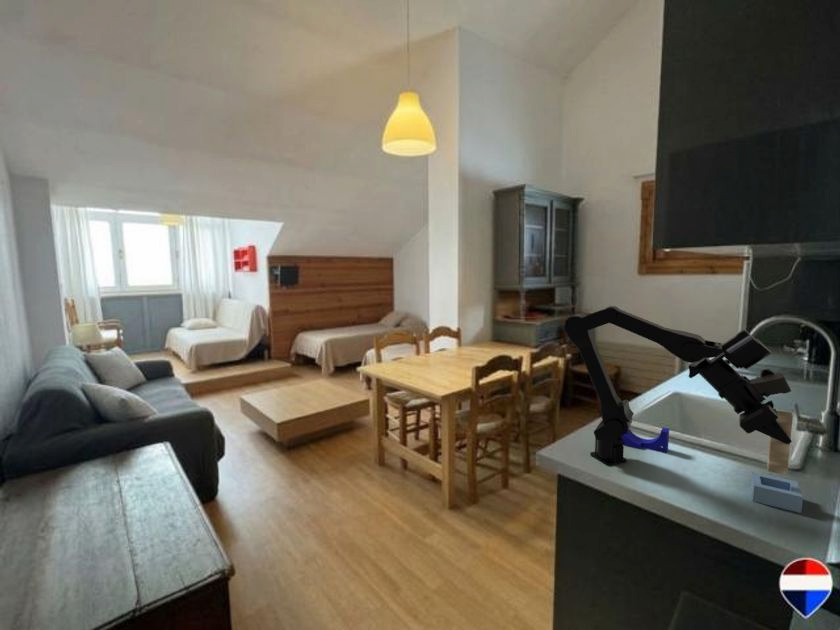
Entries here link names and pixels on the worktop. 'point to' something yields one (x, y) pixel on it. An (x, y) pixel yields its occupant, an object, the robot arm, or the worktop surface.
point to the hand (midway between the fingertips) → (788, 440)
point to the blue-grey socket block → (776, 492)
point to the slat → (780, 446)
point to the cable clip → (648, 441)
